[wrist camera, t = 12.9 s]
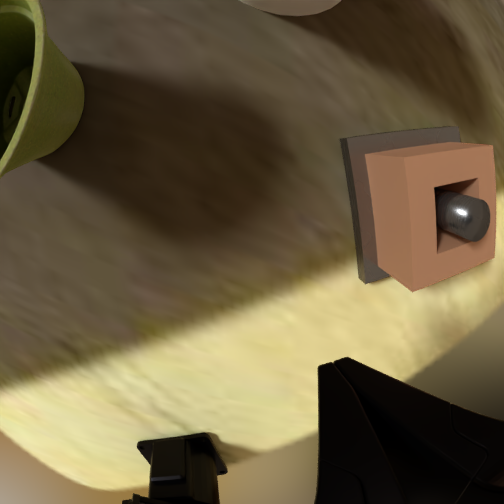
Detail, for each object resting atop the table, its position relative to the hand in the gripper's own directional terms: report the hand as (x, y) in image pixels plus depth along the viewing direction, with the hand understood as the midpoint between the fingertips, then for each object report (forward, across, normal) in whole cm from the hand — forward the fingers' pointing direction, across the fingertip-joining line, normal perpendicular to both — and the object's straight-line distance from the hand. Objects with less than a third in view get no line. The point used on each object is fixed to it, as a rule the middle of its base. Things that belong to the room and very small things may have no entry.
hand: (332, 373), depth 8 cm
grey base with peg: (+11, -10, -1) cm, 15 cm away
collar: (+10, -10, -1) cm, 15 cm away
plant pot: (+12, +11, -12) cm, 20 cm away
